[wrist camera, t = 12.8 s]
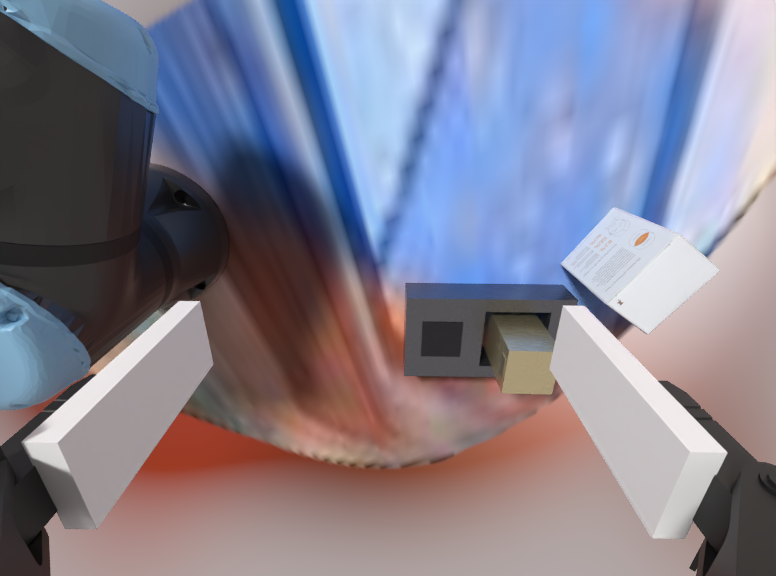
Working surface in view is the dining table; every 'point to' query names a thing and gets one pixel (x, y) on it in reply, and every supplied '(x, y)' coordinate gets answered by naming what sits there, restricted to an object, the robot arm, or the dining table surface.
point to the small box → (639, 268)
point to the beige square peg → (519, 352)
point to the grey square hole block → (467, 323)
